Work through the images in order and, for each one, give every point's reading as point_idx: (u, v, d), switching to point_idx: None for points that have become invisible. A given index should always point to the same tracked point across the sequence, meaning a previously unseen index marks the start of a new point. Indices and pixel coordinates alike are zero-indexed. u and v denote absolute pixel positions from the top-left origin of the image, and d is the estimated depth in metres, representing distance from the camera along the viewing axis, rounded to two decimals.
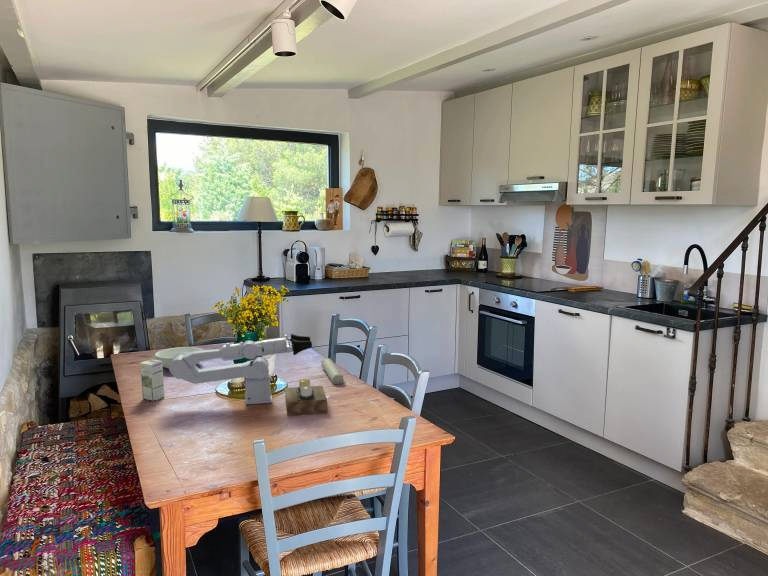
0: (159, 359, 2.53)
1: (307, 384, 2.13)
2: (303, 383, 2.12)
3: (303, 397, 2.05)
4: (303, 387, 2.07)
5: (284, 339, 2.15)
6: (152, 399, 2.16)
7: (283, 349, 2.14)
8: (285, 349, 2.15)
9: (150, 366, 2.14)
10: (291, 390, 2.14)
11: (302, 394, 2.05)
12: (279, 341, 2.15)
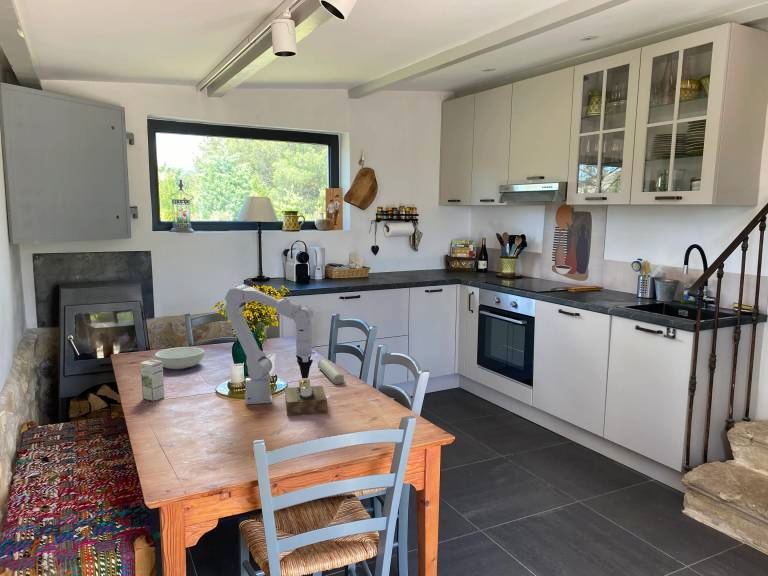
0: (159, 359, 2.53)
1: (307, 384, 2.13)
2: (303, 383, 2.12)
3: (303, 397, 2.05)
4: (303, 387, 2.07)
5: (311, 350, 2.12)
6: (152, 399, 2.16)
7: (302, 350, 2.10)
8: (301, 352, 2.10)
9: (150, 366, 2.14)
10: (291, 390, 2.14)
11: (302, 394, 2.05)
12: (310, 346, 2.11)
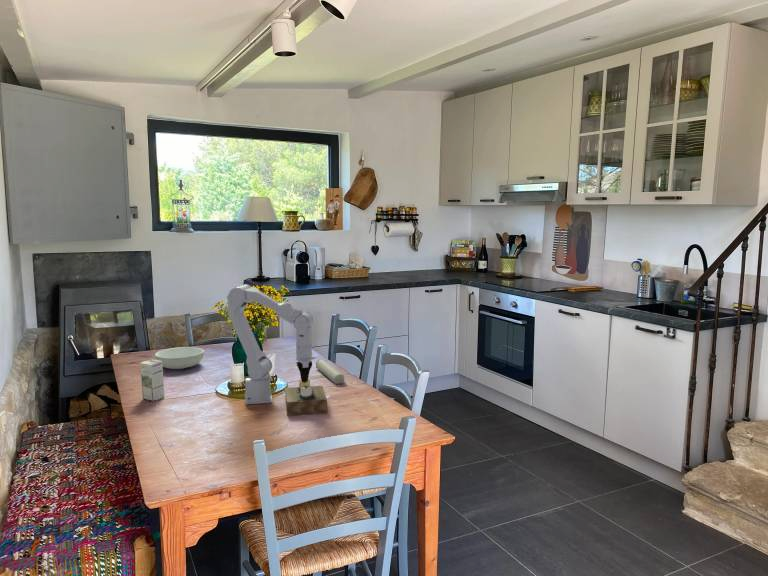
0: (159, 359, 2.53)
1: (307, 384, 2.13)
2: (303, 384, 2.12)
3: (303, 397, 2.05)
4: (303, 387, 2.07)
5: (311, 356, 2.12)
6: (152, 399, 2.16)
7: (302, 355, 2.10)
8: (301, 357, 2.10)
9: (150, 366, 2.14)
10: (291, 390, 2.14)
11: (302, 394, 2.05)
12: (310, 351, 2.11)
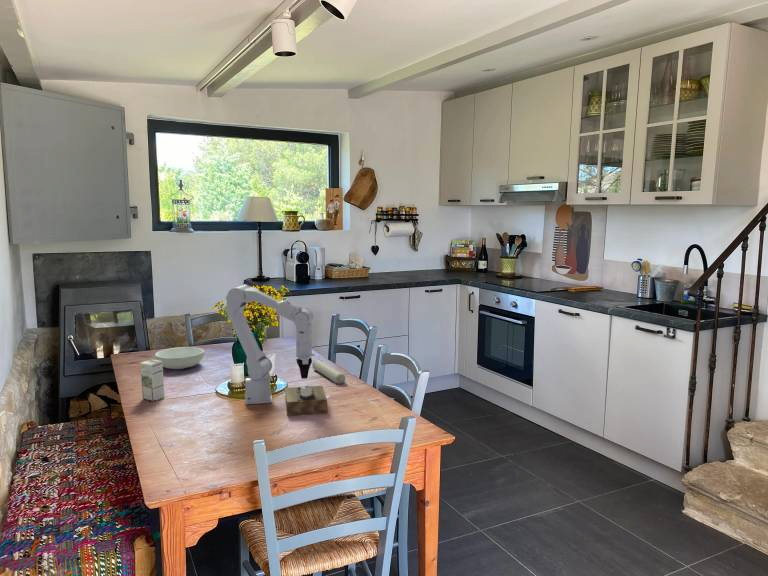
0: (159, 359, 2.53)
1: None
2: None
3: (303, 397, 2.05)
4: (303, 387, 2.07)
5: (311, 353, 2.12)
6: (152, 399, 2.16)
7: (302, 352, 2.10)
8: (301, 354, 2.10)
9: (150, 366, 2.14)
10: (291, 390, 2.14)
11: (302, 394, 2.05)
12: (310, 348, 2.11)
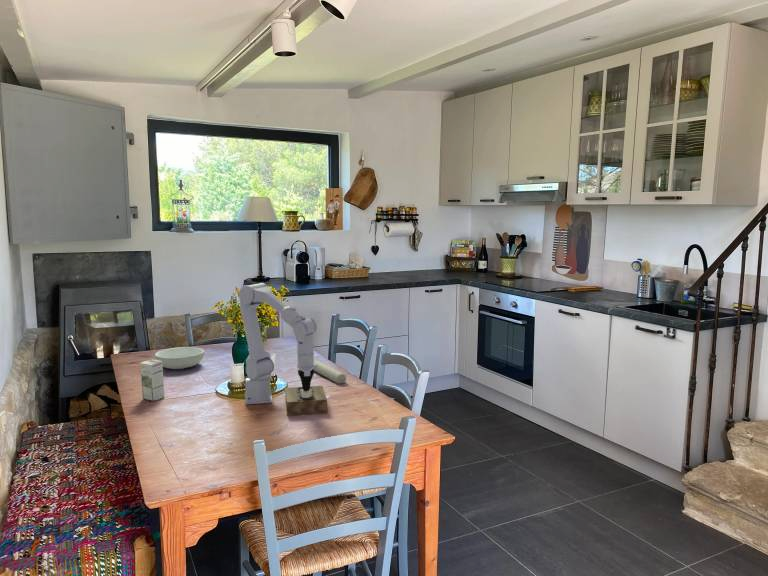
0: (159, 359, 2.53)
1: None
2: None
3: None
4: None
5: (313, 364, 2.05)
6: (152, 399, 2.16)
7: (303, 363, 2.02)
8: (303, 365, 2.03)
9: (150, 366, 2.14)
10: (291, 390, 2.14)
11: (302, 396, 2.05)
12: (312, 359, 2.04)
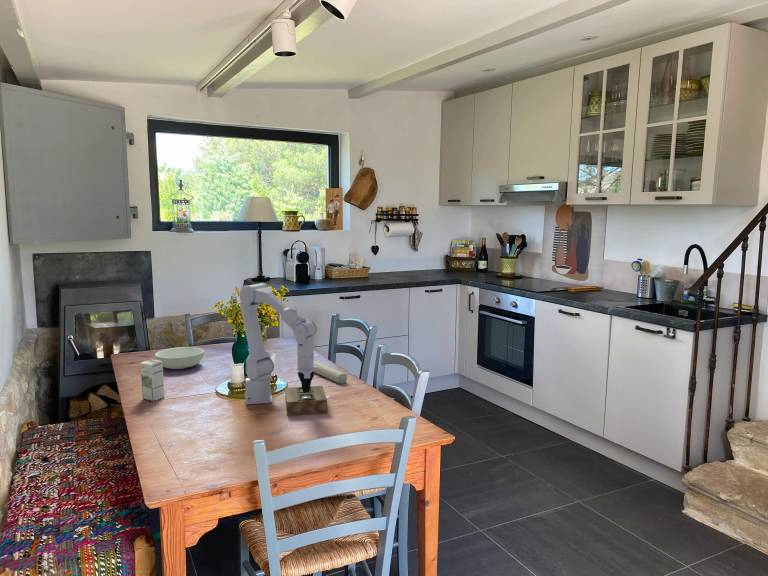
0: (159, 359, 2.53)
1: None
2: None
3: None
4: (303, 397, 2.07)
5: (313, 366, 2.05)
6: (152, 399, 2.16)
7: (303, 365, 2.02)
8: (303, 367, 2.03)
9: (150, 366, 2.14)
10: (291, 390, 2.14)
11: None
12: (312, 361, 2.04)
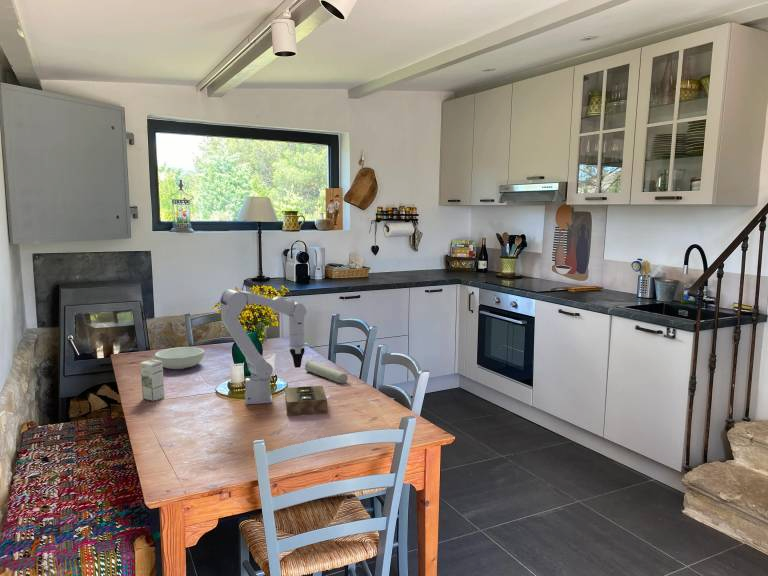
0: (159, 359, 2.53)
1: None
2: None
3: None
4: (303, 397, 2.07)
5: (303, 343, 2.23)
6: (152, 399, 2.16)
7: (295, 342, 2.21)
8: (294, 344, 2.21)
9: (150, 366, 2.14)
10: (291, 390, 2.14)
11: None
12: (303, 338, 2.22)
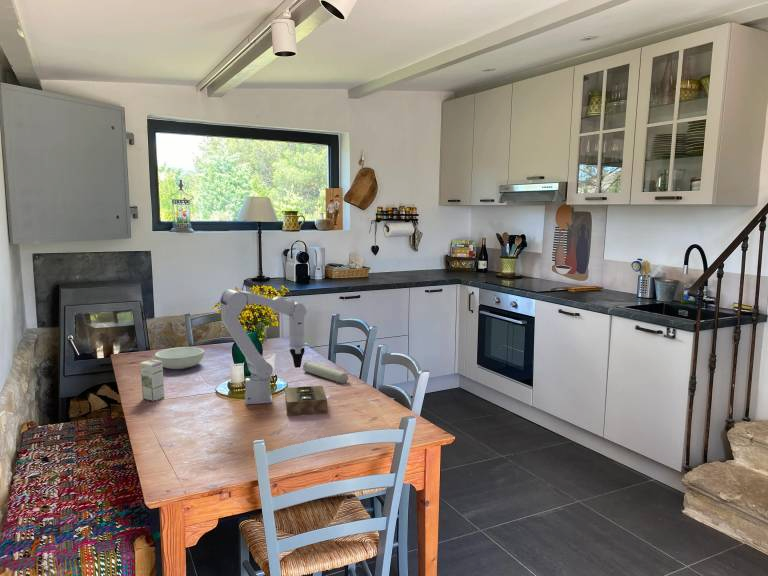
0: (159, 359, 2.53)
1: None
2: None
3: None
4: (303, 397, 2.07)
5: (303, 343, 2.23)
6: (152, 399, 2.16)
7: (295, 342, 2.21)
8: (294, 344, 2.21)
9: (150, 366, 2.14)
10: (291, 390, 2.14)
11: None
12: (303, 338, 2.22)
